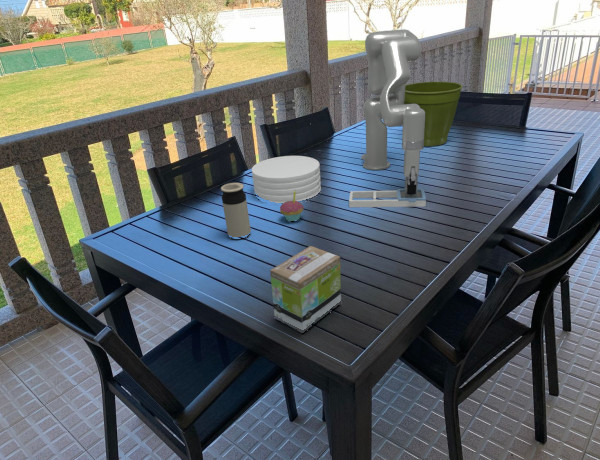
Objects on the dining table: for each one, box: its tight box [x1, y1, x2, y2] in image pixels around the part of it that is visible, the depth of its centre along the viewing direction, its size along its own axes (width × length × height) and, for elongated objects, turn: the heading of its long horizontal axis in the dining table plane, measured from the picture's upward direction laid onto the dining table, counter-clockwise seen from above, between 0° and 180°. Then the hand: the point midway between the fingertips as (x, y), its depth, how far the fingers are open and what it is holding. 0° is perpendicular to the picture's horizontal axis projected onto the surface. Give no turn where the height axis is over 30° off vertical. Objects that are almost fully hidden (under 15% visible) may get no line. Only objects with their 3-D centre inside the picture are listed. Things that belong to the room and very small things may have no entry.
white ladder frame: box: [348, 188, 427, 208], centre depth 169 cm, size 13×28×3 cm, turn 81°
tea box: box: [269, 245, 342, 330], centre depth 108 cm, size 15×10×15 cm, turn 138°
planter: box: [404, 175, 419, 198], centre depth 166 cm, size 4×4×10 cm
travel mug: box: [220, 182, 252, 237], centre depth 150 cm, size 8×8×18 cm
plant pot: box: [404, 81, 463, 147], centre depth 229 cm, size 30×30×29 cm
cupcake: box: [279, 191, 305, 222], centre depth 159 cm, size 9×8×12 cm
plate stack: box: [251, 155, 322, 203], centre depth 185 cm, size 28×28×12 cm
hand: (410, 190), depth 167 cm, fingers closed on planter, 4 cm apart
